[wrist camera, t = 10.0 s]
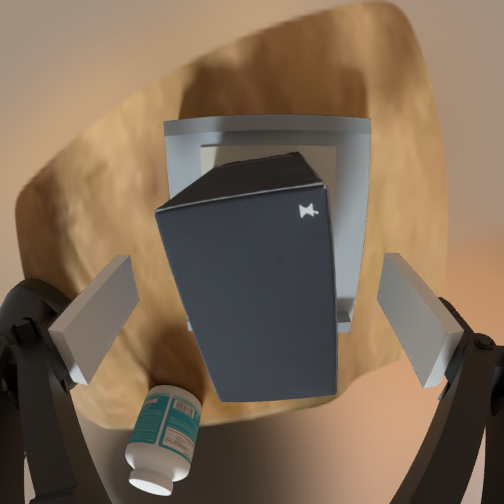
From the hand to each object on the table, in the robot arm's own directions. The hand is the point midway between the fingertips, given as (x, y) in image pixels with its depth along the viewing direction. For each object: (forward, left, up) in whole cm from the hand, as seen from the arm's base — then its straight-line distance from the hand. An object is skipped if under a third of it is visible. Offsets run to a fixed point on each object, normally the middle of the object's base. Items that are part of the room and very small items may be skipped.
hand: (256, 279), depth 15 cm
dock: (+1, 0, -10) cm, 10 cm away
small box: (0, 0, -7) cm, 7 cm away
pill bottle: (-11, -24, -10) cm, 29 cm away
